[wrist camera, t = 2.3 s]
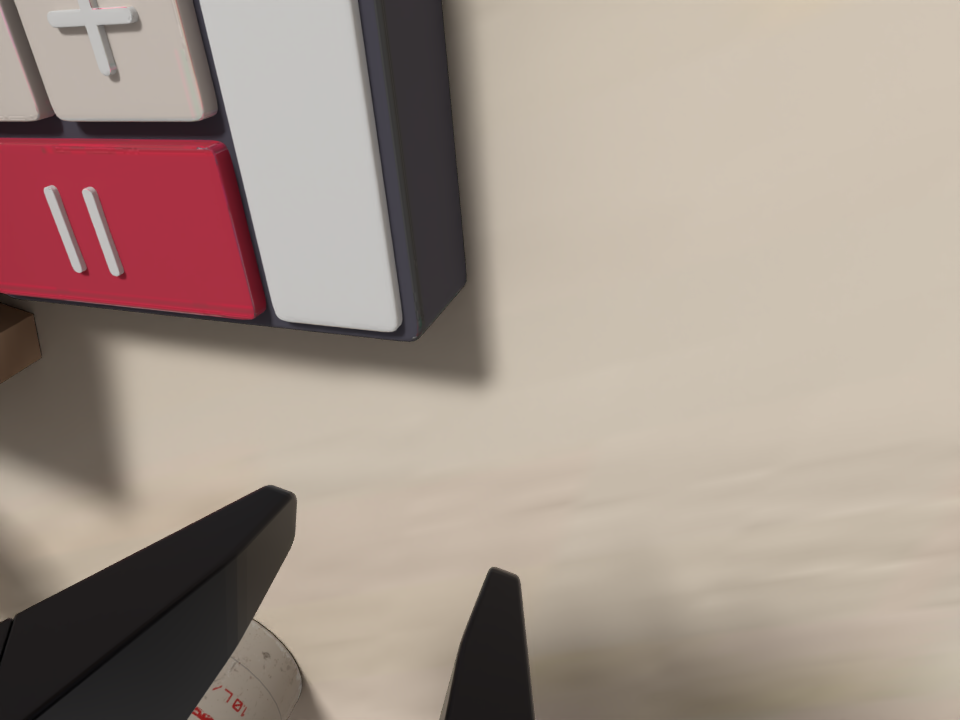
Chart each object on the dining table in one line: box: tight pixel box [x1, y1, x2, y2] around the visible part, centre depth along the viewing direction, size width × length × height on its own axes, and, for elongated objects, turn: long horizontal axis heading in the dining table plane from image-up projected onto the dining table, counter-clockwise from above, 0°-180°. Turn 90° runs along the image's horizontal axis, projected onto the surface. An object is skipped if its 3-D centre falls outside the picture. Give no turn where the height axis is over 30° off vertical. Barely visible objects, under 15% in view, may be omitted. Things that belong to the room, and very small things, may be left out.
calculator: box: [0, 0, 466, 342], centre depth 20 cm, size 11×4×15 cm
